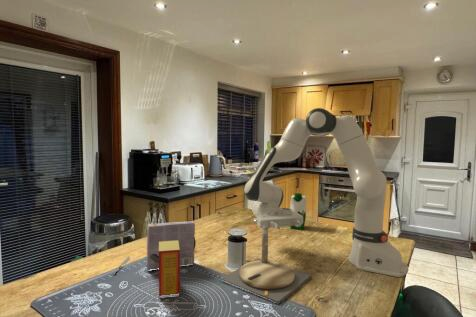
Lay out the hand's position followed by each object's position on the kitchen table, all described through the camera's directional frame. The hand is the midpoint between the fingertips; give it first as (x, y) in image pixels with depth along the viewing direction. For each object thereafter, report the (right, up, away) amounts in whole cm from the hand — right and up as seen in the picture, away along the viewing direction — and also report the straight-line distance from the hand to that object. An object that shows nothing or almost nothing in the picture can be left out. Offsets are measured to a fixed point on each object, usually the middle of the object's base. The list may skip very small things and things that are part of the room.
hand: (289, 226), depth 124 cm
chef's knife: (-66, -16, +1) cm, 68 cm away
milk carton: (+14, -13, +54) cm, 57 cm away
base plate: (-10, -17, -10) cm, 22 cm away
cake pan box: (-47, -16, 0) cm, 49 cm away
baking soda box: (-44, -18, -19) cm, 51 cm away
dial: (-10, -16, -10) cm, 21 cm away
